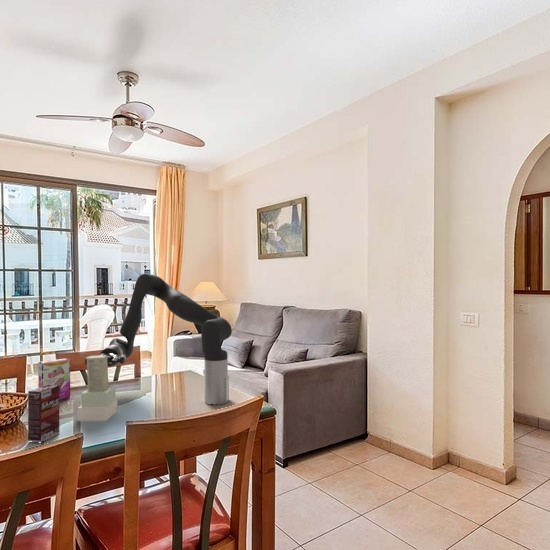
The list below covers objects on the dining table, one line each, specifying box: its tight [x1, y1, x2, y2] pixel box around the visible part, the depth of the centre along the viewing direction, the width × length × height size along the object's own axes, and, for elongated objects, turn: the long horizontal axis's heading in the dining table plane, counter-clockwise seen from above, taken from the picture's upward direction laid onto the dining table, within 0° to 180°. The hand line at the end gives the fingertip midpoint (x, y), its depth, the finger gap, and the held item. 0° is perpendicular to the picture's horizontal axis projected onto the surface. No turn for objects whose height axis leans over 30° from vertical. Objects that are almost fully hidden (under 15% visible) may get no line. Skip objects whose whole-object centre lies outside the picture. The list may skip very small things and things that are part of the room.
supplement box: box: [27, 385, 60, 443], centre depth 133 cm, size 9×5×16 cm, turn 168°
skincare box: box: [86, 355, 109, 391], centre depth 153 cm, size 6×4×12 cm
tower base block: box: [77, 398, 118, 422], centre depth 153 cm, size 10×10×5 cm
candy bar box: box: [37, 358, 71, 401], centre depth 174 cm, size 11×5×16 cm, turn 137°
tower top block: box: [80, 385, 117, 407], centre depth 153 cm, size 9×9×5 cm
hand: (100, 363), depth 157 cm, fingers open, 8 cm apart
